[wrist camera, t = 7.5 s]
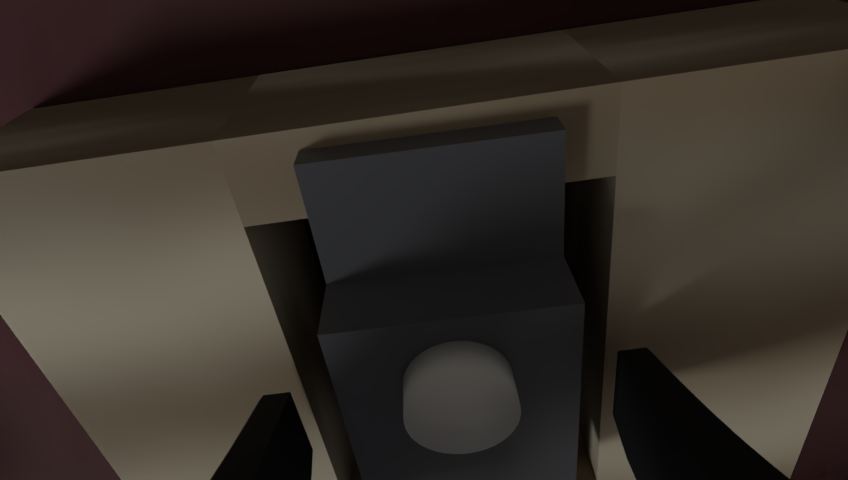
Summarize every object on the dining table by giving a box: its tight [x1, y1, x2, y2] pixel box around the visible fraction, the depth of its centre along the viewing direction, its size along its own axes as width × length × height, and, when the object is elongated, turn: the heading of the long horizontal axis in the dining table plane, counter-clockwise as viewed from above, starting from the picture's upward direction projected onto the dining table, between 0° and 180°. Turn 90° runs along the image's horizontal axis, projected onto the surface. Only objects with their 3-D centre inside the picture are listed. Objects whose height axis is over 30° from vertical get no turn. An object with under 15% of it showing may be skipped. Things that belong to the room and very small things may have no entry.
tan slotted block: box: [0, 0, 848, 480], centre depth 14 cm, size 13×18×4 cm
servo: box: [293, 117, 585, 480], centre depth 13 cm, size 12×4×7 cm, turn 7°
